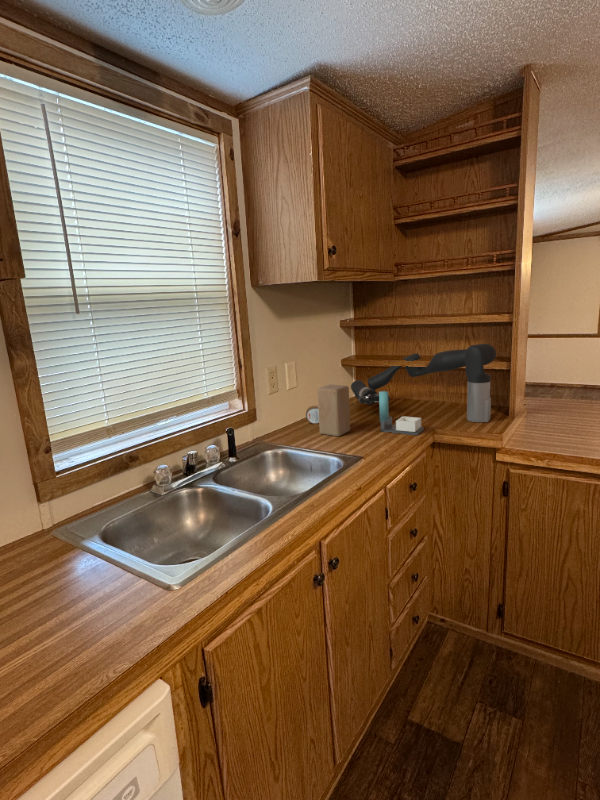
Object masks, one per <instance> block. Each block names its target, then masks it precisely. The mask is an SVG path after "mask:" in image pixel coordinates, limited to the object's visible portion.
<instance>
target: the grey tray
mask: <svg viewBox="0 0 600 800" xmlns="http://www.w3.org/2000/svg"><path fill="white" fill-rule="evenodd" d="M424 430H425V427H422V426H421V428H419V429H418V430H417V431H416V432H410V431H400V430H396V424H393V417H392V416H389V417H387V418H385V419H384V420H382V421H381V423H380V432H381V433H388V432H392V433H391V434H398V433H401V435H408V436H410V435H411V436H418V435H420V434H421V433H422V432H423V431H424Z"/></svg>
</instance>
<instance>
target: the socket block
mask: <svg viewBox="0 0 600 800" xmlns="http://www.w3.org/2000/svg"><path fill="white" fill-rule="evenodd" d="M395 425H396V430H400V431H410V432H416V431H417V430H418V429H419V428H421V427H422V417H416V416H405V415H402V416H401V417H400V418H398V419H397V420H395Z"/></svg>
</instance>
